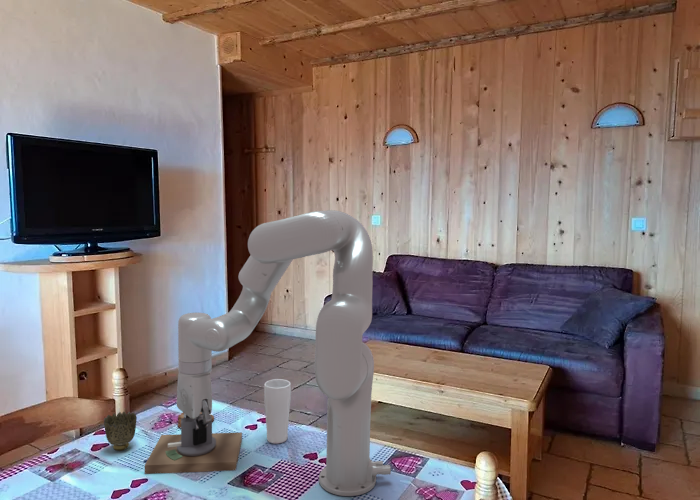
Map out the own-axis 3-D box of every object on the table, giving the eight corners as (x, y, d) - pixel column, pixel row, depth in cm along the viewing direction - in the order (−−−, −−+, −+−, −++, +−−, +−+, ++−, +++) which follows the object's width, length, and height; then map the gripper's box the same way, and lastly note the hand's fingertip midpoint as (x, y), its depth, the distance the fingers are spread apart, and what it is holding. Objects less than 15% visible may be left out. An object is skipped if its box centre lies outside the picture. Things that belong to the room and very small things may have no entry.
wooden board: (241, 439, 131) (242, 431, 131) (235, 470, 116) (235, 461, 116) (161, 442, 129) (161, 434, 129) (144, 473, 114) (144, 464, 114)
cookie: (199, 412, 148) (199, 402, 148) (221, 423, 141) (220, 413, 141) (167, 423, 141) (167, 413, 140) (189, 435, 134) (188, 424, 134)
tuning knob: (214, 436, 128) (214, 409, 128) (217, 453, 120) (217, 424, 119) (168, 442, 125) (167, 414, 124) (167, 459, 116) (167, 430, 116)
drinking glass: (277, 448, 127) (277, 390, 126) (258, 440, 131) (258, 383, 130) (295, 438, 132) (296, 382, 131) (277, 431, 137) (277, 377, 135)
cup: (137, 453, 123) (136, 421, 123) (103, 458, 121) (102, 425, 120) (137, 439, 130) (137, 409, 130) (105, 444, 128) (104, 413, 127)
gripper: (165, 359, 124) (166, 432, 126) (195, 378, 112) (195, 458, 114) (194, 354, 129) (195, 423, 131) (226, 371, 117) (226, 448, 118)
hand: (195, 439), depth 122 cm, fingers closed on tuning knob, 4 cm apart
